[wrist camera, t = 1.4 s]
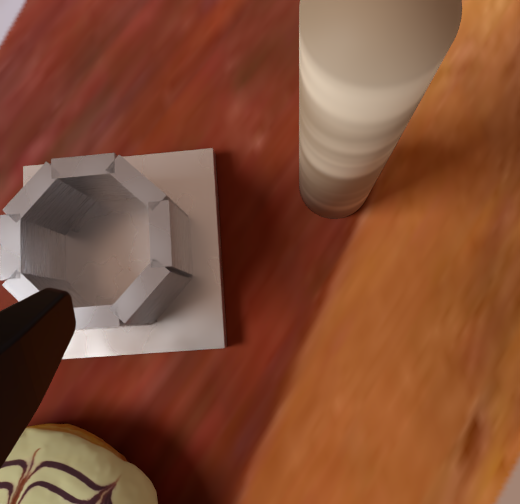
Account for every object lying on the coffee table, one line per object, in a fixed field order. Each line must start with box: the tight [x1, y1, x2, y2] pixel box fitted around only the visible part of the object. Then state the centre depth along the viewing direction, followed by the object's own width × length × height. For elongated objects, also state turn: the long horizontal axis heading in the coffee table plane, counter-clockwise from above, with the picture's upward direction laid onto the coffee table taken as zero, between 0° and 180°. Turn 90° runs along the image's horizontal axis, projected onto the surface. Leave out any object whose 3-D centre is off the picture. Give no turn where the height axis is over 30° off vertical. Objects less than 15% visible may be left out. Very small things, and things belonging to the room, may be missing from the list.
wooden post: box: [299, 0, 462, 219], centre depth 16 cm, size 3×3×13 cm
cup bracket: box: [0, 148, 227, 359], centre depth 21 cm, size 9×9×4 cm
